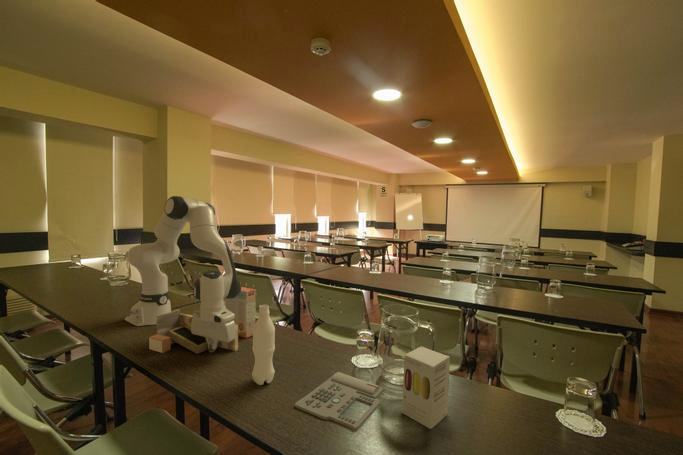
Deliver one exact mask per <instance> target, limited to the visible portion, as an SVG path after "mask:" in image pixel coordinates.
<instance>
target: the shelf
mask: <svg viewBox="0 0 683 455" xmlns="http://www.w3.org/2000/svg"><path fill="white" fill-rule="evenodd" d="M192 318H193V314H188V313H182V312H181V309H174V310H173V311H172V310H171V312H168V313H165V314H162V315H158V316H156V324H155V325H156V326H155V327H156V329H155V330H156V334H160V335H163V336H167V337H169V335H168V331H169V330H172V329H175V328H178V327H181V326H184V325H186V326H188V327H190V328H191V322H192ZM235 330H236V334H235V338H234V340H232V341H230V342H224V341H220V340H219V341H218V343H217V348H222V349H225V350H230V351H233V352H236V351H238V350H239V336H238V325H235ZM156 334H155V335H156ZM176 343H177V342H175V341H173V340H171V345H174V344H176Z"/></svg>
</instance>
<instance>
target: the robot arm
mask: <svg viewBox="0 0 683 455" xmlns="http://www.w3.org/2000/svg"><path fill="white" fill-rule="evenodd" d="M187 223H188V224H189V235H190V240H191V243H192V244H193V246H195V247H196V248H198V249H199V250H202V251H203V252H204V251H205V252H209V253H211V254H214V255H216V256H217V257H219V259H220V260H221V263H222V267H223V270H224V273H225V274H224V275H223V273H222V272H221V271H218V270H209V271H205V272H204V273H201V274H202V275H201V277H198V278H197V279H196V280H195V281H194V282H193V297H194V298H195V299H197V301H198V302H199V301H200V305H199V310H195V311H194V312H193V313H192V315H193V318H192V322H191V332H192V334H195V335H199V336H203V337H206V341H207V343H208V348H210V349H217V348H218V347H217V343H218V341H219V340H220V341H224V342H230V341H232V340H234V338H235V334H236V330H235V322H234V321H233V319H234V318H235V314H234V313H232V312H231V311H229V310H228V309H226V308H225V298H226V299H229V298H235V297H236V296H237V295H238V294H239V293H240V292H241V287H242V283H241V280H240V277H239V275H238V271H237V270H236V266H235V263H234V259H233V256H232V253H231V250H230V246H229V244H228V242H227V240H225V239H223V238H222V236H220V234H219V231H218V224H217V219H216V209H215V207H214V205H212V204H210V203H208V202H205V201H204V202H203V201H201V200H198V199H195V198H188V197H184V196H183V197H182V196H179V195H174V196H173V195H172V196H170V197H169V198H168V199H167V200H166V202H165V204H164V211H163V213H162V214H161V216H160V218H159V220H158V221H157V223H156V225H155V227H154V229H153V232H154V236H155V238H157V239H156V240H155V242H149V243H142V244H137V245H135V246H132V247H131V248H129V250H128V252H127V254H126V256H127V261H128V262H129V264H130V266H132V267H134V268H136V270H137V272H138V273H139V275H140V278H141V293H139V294H138V296H139V301H138V302H137V303H135V304H134V305H133V306H132V307H131V308H130V315H127V316H126V317H125V318H124V321H126V322H128V323H130V324H132V325H134V326H136V327H141V326H153V325H156V316H158V315H162V314H165V313H168V312H171V311H172V305H171V300H170V299H169V298H170V291H169V278H168V277H169V276H168V275H167V274H166V273H164V272H162V271H161V268H160V265H162V264H167V263H171V262H173V261H176V260H177V259H178V258H179V256H180V252H181V251H180V247H179V246H178V240H179V237H180V236H181V234H182V232H183V230H184V228H185V226H186V224H187ZM212 339H213V341H214V342H212Z"/></svg>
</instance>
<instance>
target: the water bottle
mask: <svg viewBox="0 0 683 455" xmlns="http://www.w3.org/2000/svg"><path fill="white" fill-rule="evenodd" d="M269 308H270V307H269V304H260V305H259V308H258V309H259V310H258V318H257V320H256V321H255V326H254V328H253V336H252V348H251V349H252V352H253V355H254V366H253V369H252V373H251V375H252V376H251V377H252V381H253V382H254V383H256V384H257V385H259V386H262V385H264V383H267V384H270V383H272V381H273V379H274V376H275V373H276V372H275V371H276V370H275V369H274V368H275V367H274V365H273V357H274V352H275V350H276V344H275V341H276V340H275V338H276V337H275V336H276V335H275V332H276V328H275V325H274V323H273V321H272V319H271V318H270V309H269Z"/></svg>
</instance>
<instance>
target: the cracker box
mask: <svg viewBox="0 0 683 455" xmlns="http://www.w3.org/2000/svg"><path fill="white" fill-rule="evenodd" d="M256 292H257V290H256V289H255V288H249V287H244V286H241V292H240V293H239V294H238V295H237V296H236V297H235V298H229V299H226V298H224V304H225V308H226V309H228V310H229V311H231V312H232V313H234V314H235V318H234V319H233V321H234V322H235V325H238V337H240V338H244V339H247V338H250V337H253V328H254V326H255V324H256V304H257V303H256V298H257V297H256V296H257V295H256V294H257V293H256Z"/></svg>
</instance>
